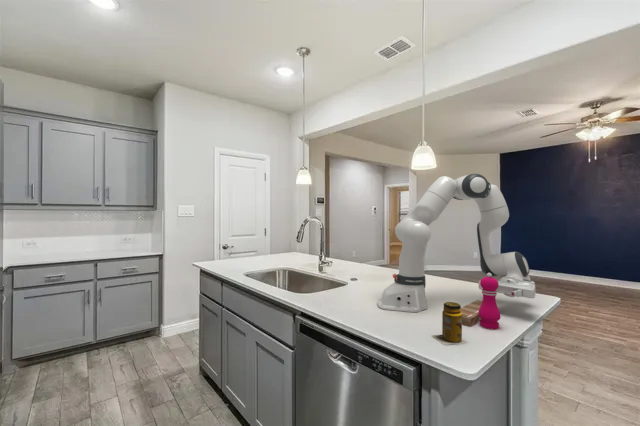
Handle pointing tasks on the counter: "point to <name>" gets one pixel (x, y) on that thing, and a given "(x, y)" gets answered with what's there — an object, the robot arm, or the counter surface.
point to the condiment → (451, 324)
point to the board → (471, 313)
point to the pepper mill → (489, 303)
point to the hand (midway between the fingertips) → (499, 291)
